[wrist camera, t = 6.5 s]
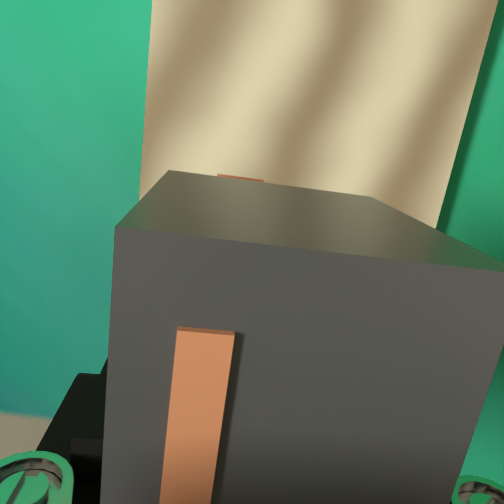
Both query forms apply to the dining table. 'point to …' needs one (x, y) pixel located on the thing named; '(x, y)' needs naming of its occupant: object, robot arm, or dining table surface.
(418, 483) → the block
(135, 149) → the dining table surface
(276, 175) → the board
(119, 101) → the dining table surface
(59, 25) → the dining table surface
